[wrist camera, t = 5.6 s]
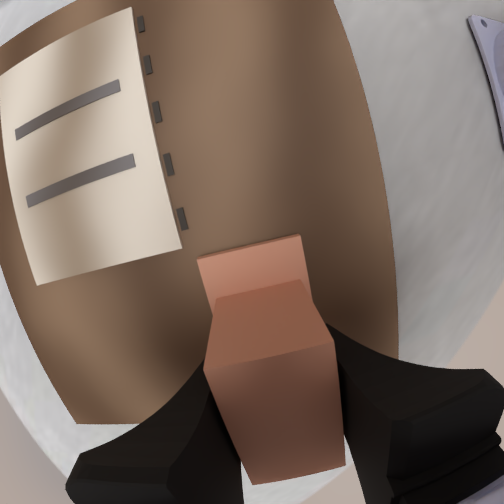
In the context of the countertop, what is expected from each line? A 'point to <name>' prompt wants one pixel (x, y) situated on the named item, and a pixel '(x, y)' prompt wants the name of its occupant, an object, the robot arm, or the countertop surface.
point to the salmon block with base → (272, 361)
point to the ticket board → (180, 184)
